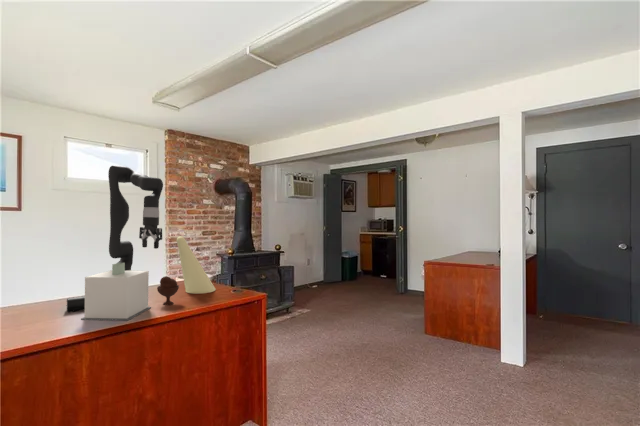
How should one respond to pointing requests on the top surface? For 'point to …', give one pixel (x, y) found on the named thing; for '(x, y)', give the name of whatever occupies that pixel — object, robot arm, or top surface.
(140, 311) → the mat
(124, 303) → the cover
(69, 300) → the end cap
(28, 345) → the top surface
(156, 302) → the top surface
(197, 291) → the cone light
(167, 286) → the ice cream bowl
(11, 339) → the top surface
